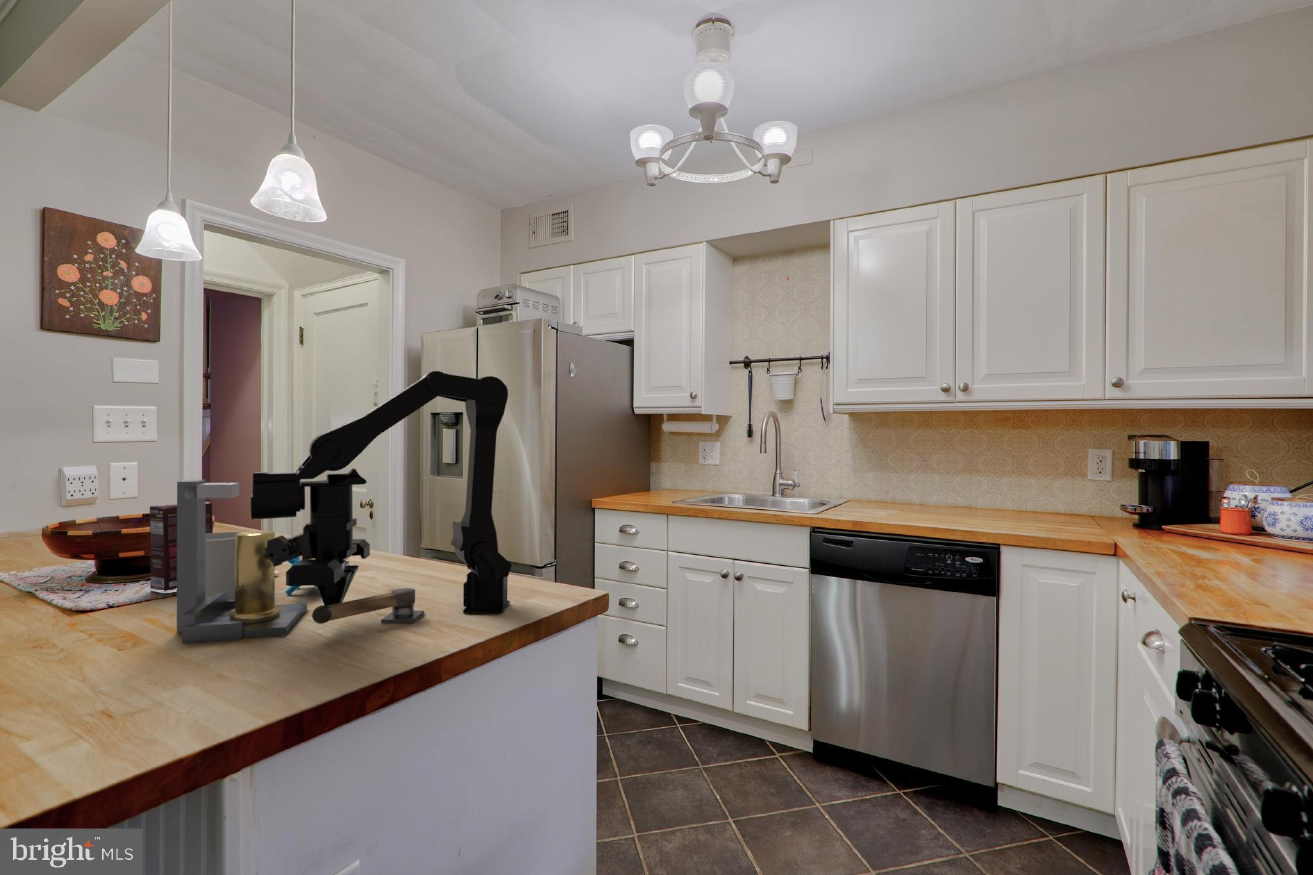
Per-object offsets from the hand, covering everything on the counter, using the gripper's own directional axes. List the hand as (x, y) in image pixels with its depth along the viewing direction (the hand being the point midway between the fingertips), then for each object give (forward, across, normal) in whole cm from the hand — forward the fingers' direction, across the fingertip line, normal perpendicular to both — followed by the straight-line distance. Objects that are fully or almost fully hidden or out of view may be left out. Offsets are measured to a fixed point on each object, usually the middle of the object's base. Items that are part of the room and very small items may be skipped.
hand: (332, 616), depth 95 cm
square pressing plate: (+2, -4, +9) cm, 11 cm away
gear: (+3, -23, -11) cm, 25 cm away
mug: (+3, -22, -24) cm, 33 cm away
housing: (+1, -4, -12) cm, 13 cm away
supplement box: (+3, -28, -35) cm, 45 cm away
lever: (0, -1, +5) cm, 5 cm away
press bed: (+2, -4, -14) cm, 15 cm away
